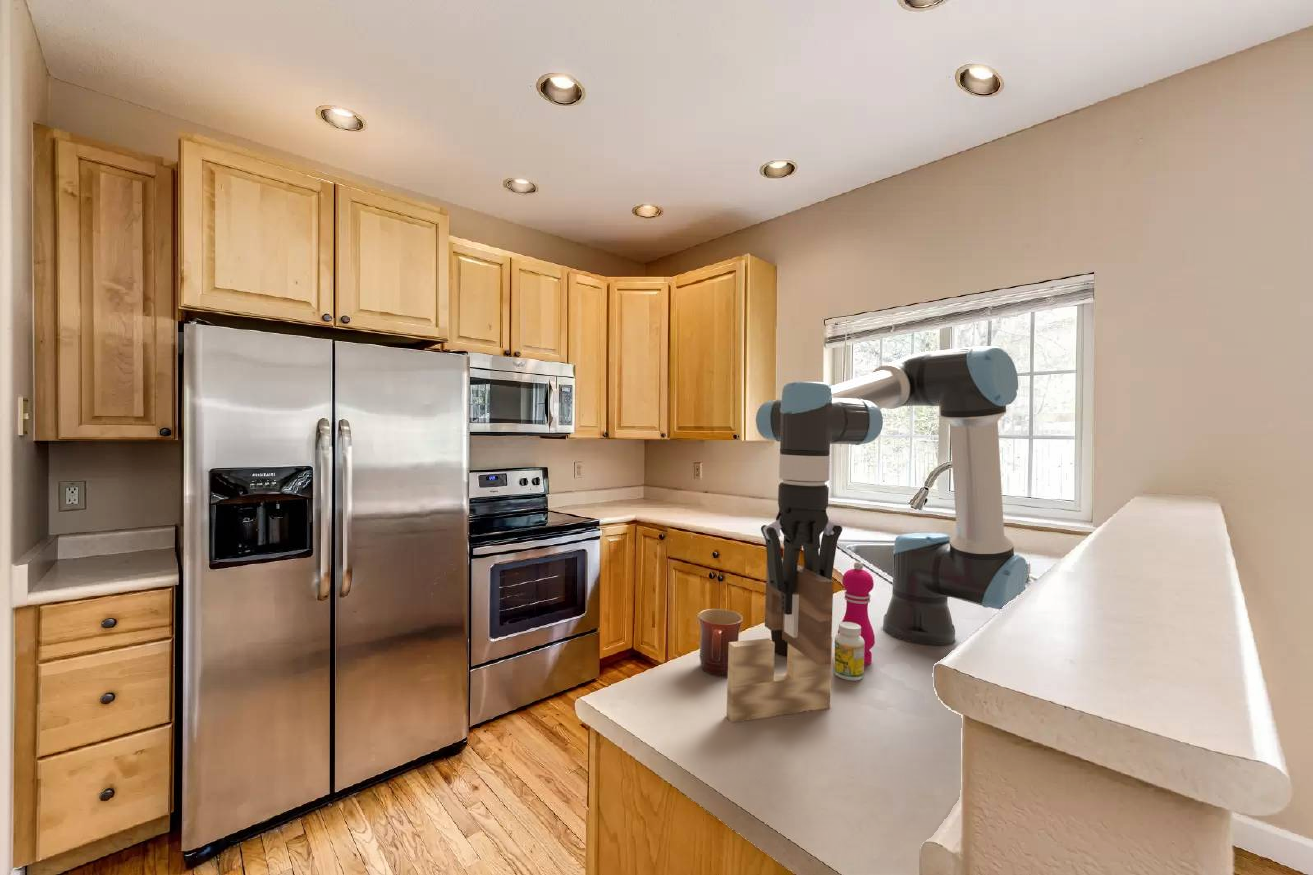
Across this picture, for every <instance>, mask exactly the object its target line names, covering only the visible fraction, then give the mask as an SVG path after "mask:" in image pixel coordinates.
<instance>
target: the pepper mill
mask: <svg viewBox="0 0 1313 875" xmlns="http://www.w3.org/2000/svg"><path fill="white" fill-rule="evenodd" d="M863 568H864V565H863V563H862V562H861V561H855V562H854V564H853V568H851V569H848V570H847V571H845V572H844V574H843V576H842V581H841V582H842V586H843V588H844V589H845V591H844V600H845V601H846V606H845V607H846V608H845V613H844V617H843V619H842V621H841V622H852V623H856V624H858V625H860V626H861V634H860V636H861V637H862V638H863V639H864V642H865V646H864V666H867V665H868V666H869V665H870V664H871V663H872V656H873V654H872V651H871V649H873V647H874V645H875V642H876V638H875V634H874V633H875V632H874V630H873V627H872V626H873V625H872V624H871V622H870V618H869V611H868V610H869V607H868V606H869V603H871V594H870V593H871V591H872V590H873V589H874V584H875V583H874V582H875V581H874V578H873V576H872V575H871V573H870V572H868V571H867V570H864V569H863ZM838 633H840V632H839V628H838V629H837V634H838Z"/></svg>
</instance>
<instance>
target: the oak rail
mask: <svg viewBox="0 0 1313 875" xmlns="http://www.w3.org/2000/svg"><path fill="white" fill-rule="evenodd" d="M774 652H775V643H774V642H773V641H772V639H771V638H769V637H767V638H758V639H749V640H738V641H736V642H729V650H728V675H727V686H726V687H727V690H726V694H727V696H726V717H727V718H728V719H729V721H730V722H731V723H735V722H743V721H742V720H744V721H748V720H747V719H751V720H756V719H757V720H758V719H764V718H769V717H770V718H771V717H778V716H784V715H783V714H785V715H791V713H792V714H797V713H796V712H799V713H804V712H803V711H806V712H810V711H809V710H813V711H818V710H826V709H830V708H831V687H832V686H831V685H832V684H831V683H832V663H831V664H826V665H817V664H816V663H815V662H813V661H812V660H810V659H809V658H808V657H806V656H805V655H804V654H802V653H801V652H800V651H798V650H797V649H795V648H794V647H793V646H791V645H790V644H789V643H788V653H787V657H786V658H787V659H786V662H787V663H786V673H782V674H775V653H774ZM832 657H833V636H832V637H831V662H832V660H833V658H832ZM777 715H778V716H777Z"/></svg>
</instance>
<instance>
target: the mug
mask: <svg viewBox="0 0 1313 875" xmlns="http://www.w3.org/2000/svg"><path fill="white" fill-rule="evenodd" d="M696 617H697V620H698V624H699V629H700V638H699V639H700V641H699V662H700V668H702V669H703V671H704V672H706V673H708V674H710V675H713V676H721V677H722V676H728V650H729V642H736V641H739V638H740V637H739V635H740V630H741V626H742V624H743V620H744V617H743V615H742V614H740V613H739V612H737V611H733V610H729V609H722V608H710V609H708V608H707V609H704V610H701V611H699V612H698V613H697V616H696Z"/></svg>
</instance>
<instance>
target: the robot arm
mask: <svg viewBox="0 0 1313 875" xmlns="http://www.w3.org/2000/svg"><path fill="white" fill-rule="evenodd" d="M1018 378H1019V377H1018V372H1017V368H1016V365H1015V363H1014V361H1013V358H1012V357H1011V356H1010V354H1008V353H1007V351H1006V350H1004V349H1003V348H1002V347H1000V346H999V347H998V346H993V345H992V346H990V345H989V346H986V345H985V346H984V345H983V346H980V345H977V346H976V345H975V346H971V347H962V348H954V349H953V348H952V349H944V350H934V351H933V350H932V351H925V352H924V351H923V352H920V353H916V354H912V355H910V356H909V355H908V356H905V357H904V358H900V359H897V360H895V361H892V362H891V361H890V362H889V363H886V364H882V365H880V366H877V368H875V369H874V370H873V371H872V372H871V373H870V374H867V375H863V376H860V377H857V378H854V379H850V380H847V381H844V382H840V383H837V384H835V385H831V384H829V383H827V382H822V381H793V382H788V383H787V384H784V386H783V388H782V393H781V400H780V399H775V400H769V401H766V402H763V403H762V404H761V405H760V406H759V407H758V409H757V411H756V415H755V426H756V430H757V432H758V434H759V435H760V436H761V437H763V439H766V440H770V441H776V442H778V443H779V442H780V443H779V445H780V446H779V464H778V465H779V466H778V467H779V469H778V478H779V479H780V480H782V482H780V483H779V484H778V490H777V494H778V497H777V505H778V513H777V515H776V516H775V521H774V522H772V523H771V524H768V525H766V524H763V525H762V526H761V527H760V531H761V533H762V536H763V538H764V541H765V547H766V548H765V550H766V563H767V562H768V573H769V583H770V586H772V587H773V588H775V589H777V590H778V591H781V611H782V612H783V613H784V614H785V622H784V631H785V632H786V633H787V634H789V635H790V636H792V637H793V638H795V637H798V611H799V595H798V594H796V593H795V592H794V591H795V584H796V576H797V567H798V565H799V557H800V551H803V552H802V553H803V565H804V566H803V568H806V569H808V570H810V571H812V572H814V573H817V574H819V575H821V576H823V577H825V578H827V579H830V580H832V578H833V574H834V572H833V571H834V566H835V565H834V564H835V559H836V552H837V545H838V540H839V538H840V536H841V534H842V532H843V527H842V526H841V525H839V524H836V523H833V522H831V521H830V520H829V516H828V513H827V510H828V509H827V508H828V507H829V497H830V496H829V492H830V490H829V487H828V484H826V483H827V482H828V481H830V463H831V462H830V459H831V456H830V455H831V454H830V453H831V451H830V450H831V445H853V446H859V445H866V444H870V443H871V442H874V441H875V440H876V439H878V437H879V436H880V435H881V432H882V430H883V426H884V418H883V413H882V410H881V409H884V408H885V409H887V410H888V409H889V410H893V409H894V410H895V409H897V408H901V407H911V406H913V407H914V406H915V407H916V406H917V407H918V406H919V407H922V406H923V407H925V406H926V407H939V409H940V410H939V411H940V413H939V414H940V418H942V419H943V420H944V421H946V422H947V423H948V424H949V425H948V426H949V438H950V450H951V463H952V464H951V465H952V480H953V495H954V496H953V497H954V507H955V508H954V510H955V513H954V514H955V523H956V524H955V525H956V526H955V527H956V534H955V535H954V536H953V537H950V535H949V534H944V533H939V532H938V533H935V532H915V533H913V532H912V533H903V534H900V535H898V536H897V537H896V538H895V539H894V545H893V552H892V555H893V561H892V562H893V563H892V564H893V565H892V590H891V592H892V594H891V599H890V601H889V604H888V607H887V610H886V613H885V614H884V615H883V619H882V620H883V621H882V622H883V624H882V628H883V630H884V631H885V633H887V634H889V635H890V636H892V637H895V638H898V639H899V640H903V641H906V642H911V643H914V644H920V645H929V646H942V645H943V646H944V645H948V644H953V642H955V640H956V626H955V625H954V623H953V620H952V615H951V612H950V608H949V605H948V604H949V602H948V600H949V599H948V598H952V599H956V600H961V601H962V602H967V603H971V604H975V605H977V606H982V607H983V608H991V609H995V610H999V611H1001V610H1000V609H1002V607H1003V606H1004V605H1006V604H1007V603H1008V602H1009V601H1011V600H1013V599H1014V598H1015V597H1016V596H1017V595H1020V594H1021V592H1023V593H1024V591H1025V588H1026V583H1027V581H1028V573H1029V571H1028V563H1027V561H1026V559H1025V558H1024V557H1023V556H1021V555H1020V554H1015V550H1014V542H1013V541H1012V540H1011V539H1010V538H1008V536H1006V535H1005V529H1004V528H1005V525H1004V524H1005V523H1004V511H1003V510H1004V507H1003V490H1002V475H1001V472H1002V471H1001V455H1000V437H999V436H1000V435H999V420H1001V418H1003V417H1004V416H1005V415H1006V413H1007V406H1009V405H1011V404H1013V402H1014V401H1015V400H1016V398H1017V395H1018V392H1017V391H1018V389H1019V379H1018ZM780 531H781V532H780ZM781 533H782V534H783V542H782V545H783V546H784V548H783V556H782V548H781V547H782V546H781V540H780V538H779V537H780V536H781ZM821 535H822V536H821ZM820 536H821V537H820ZM802 548H803V549H802ZM782 558H783V563H782Z"/></svg>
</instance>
